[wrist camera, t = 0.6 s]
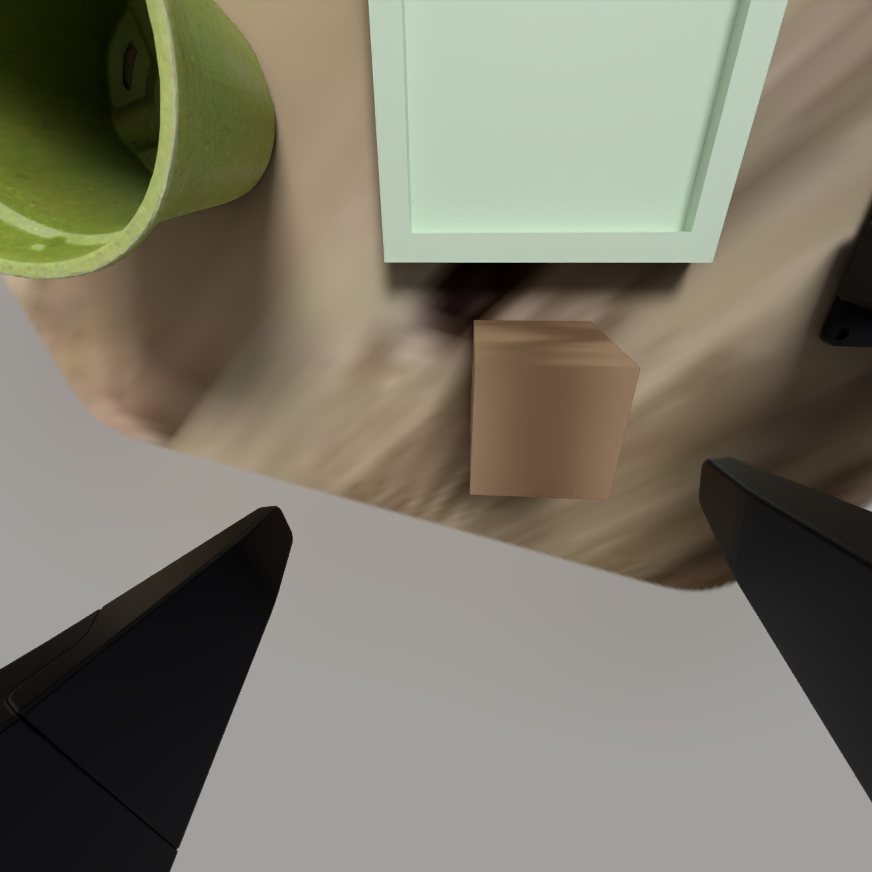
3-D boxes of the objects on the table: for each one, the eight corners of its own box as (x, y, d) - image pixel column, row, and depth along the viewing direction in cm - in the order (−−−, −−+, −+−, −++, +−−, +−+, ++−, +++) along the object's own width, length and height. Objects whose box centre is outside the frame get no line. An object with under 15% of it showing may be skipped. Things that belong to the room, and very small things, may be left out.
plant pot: (278, 292, 18) (139, 350, 11) (57, 174, 17) (-293, 143, 9) (360, 37, 14) (227, -172, 6) (74, -153, 12) (-559, -732, 5)
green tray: (828, -251, 11) (879, -317, 9) (692, 258, 16) (712, 262, 15) (365, -214, 11) (351, -268, 10) (391, 258, 17) (384, 262, 16)
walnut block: (590, 321, 18) (640, 367, 13) (572, 424, 20) (608, 499, 15) (473, 320, 18) (475, 364, 13) (470, 422, 21) (469, 494, 15)
